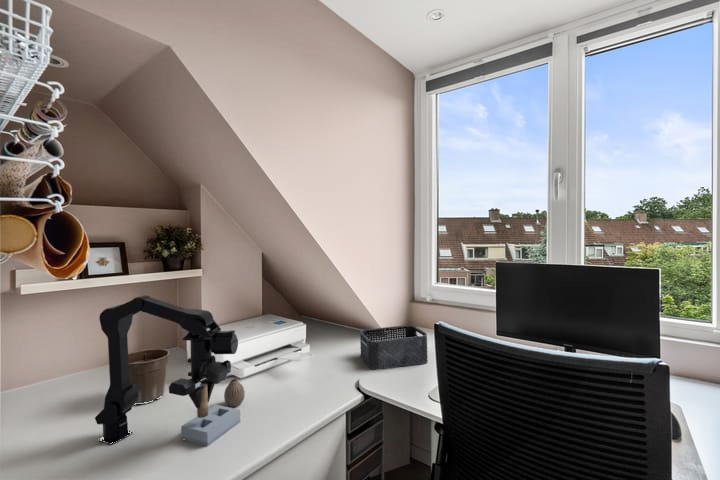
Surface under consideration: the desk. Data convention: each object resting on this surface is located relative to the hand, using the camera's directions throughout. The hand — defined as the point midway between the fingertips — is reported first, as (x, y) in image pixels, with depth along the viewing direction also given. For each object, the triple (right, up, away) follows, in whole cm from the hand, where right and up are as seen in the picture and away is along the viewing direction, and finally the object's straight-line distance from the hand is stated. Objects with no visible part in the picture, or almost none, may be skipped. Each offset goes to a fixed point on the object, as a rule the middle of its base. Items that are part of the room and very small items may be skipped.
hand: (202, 405), depth 109 cm
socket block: (+1, -9, +4) cm, 10 cm away
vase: (+3, -9, +20) cm, 22 cm away
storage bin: (+63, -7, +62) cm, 89 cm away
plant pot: (-32, -10, +26) cm, 43 cm away
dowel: (0, -3, 0) cm, 3 cm away
